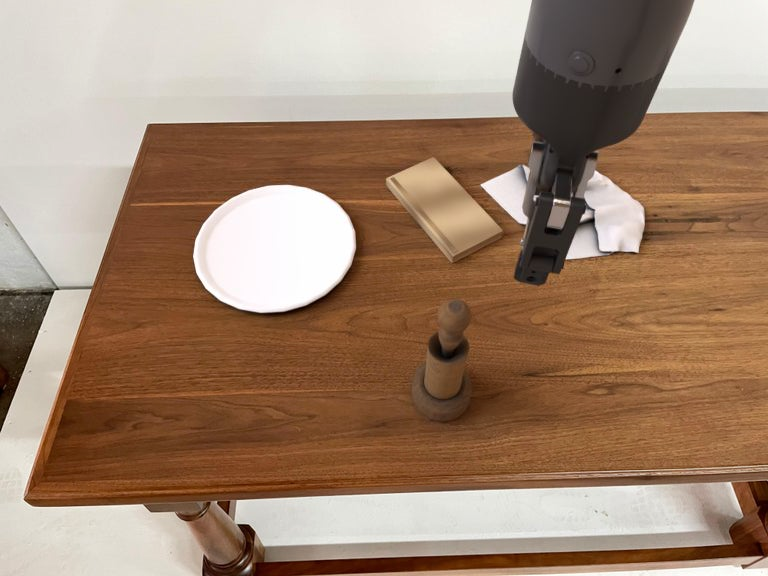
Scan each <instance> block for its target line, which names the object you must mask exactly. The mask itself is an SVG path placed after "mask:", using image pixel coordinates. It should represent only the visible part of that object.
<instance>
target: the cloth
mask: <svg viewBox="0 0 768 576" xmlns="http://www.w3.org/2000/svg"><path fill="white" fill-rule="evenodd" d="M529 173H530V169H529V166H527V165H525V164H519V165H517V166H516V167H515V168H513V169H511V170H509V171H507V172H504V173H502V174H500V175H498V176H495V177H493V178H491V179H489V180H487V181H485V182H484V183H481V184H479V185H480V187H481V188H482V189H484V191H485V192H486V193H487V194H489V196H490V197H491V198H492V199H493V200H494V201H495V202H496V203H497V204H498V205H499V206H500V207H501V208H502V209H503V210H504V211H505V212H506V213H508V214H509V216H510V217H511V218H513V220H515V221H516V222H517V223H518V224H520V225H525V226H526V223H527V219H528V218H527V217H526V216H525V215H524V213H523V209H522V205H523V200H524V196H525V191H526V187H527V182H528V178H529ZM573 192H574V190H573V191H572V192H571V197H572V196H573ZM536 197H539V196H537V195H534V201H535V200H536ZM584 199H585V205H586V211H585V214H583V215H582V218H581V220H580V223H579V226H578V228H577V231H576V233H575V236H574V238H573V241H572V244H571V246H570V249H569V251H568V254H567V256H566V259H565V261H571V260H580V259H588V258H589V259H590V258H597V257H606V256H610V255H612V254H613V253H614V252H626V253H631V252H632V253H635V254H639V250H640V247H641V243H642V240H643V233H644V231H645V222H646V221H645V220H646V215H645V206H644V205H643V204H642V203H641V202H640V201H639V200H637V199H634V198H633V197H632V195H630V194H629V193H628V192H626V191H624V190H623V189H622V188H620V187H619V186H618V185H617V184H615V183H614V182H613V181H612V180H611V179H610V178H609V177H607V176H605V175H604V174H601V173H600V172H598V171H597V170H595V172H594V176H593V177H592V178H591V179H590V180H589V181H588V182H587V186H586V190H585V194H584Z"/></svg>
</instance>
